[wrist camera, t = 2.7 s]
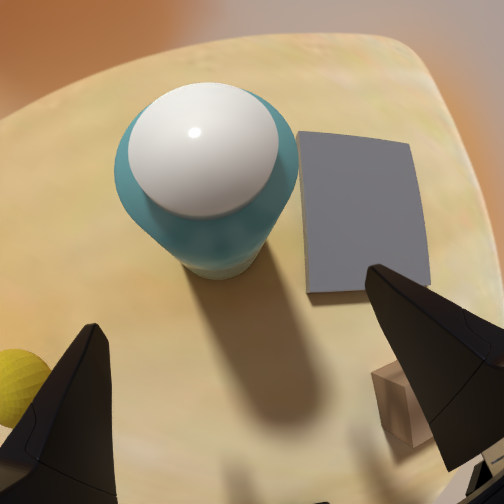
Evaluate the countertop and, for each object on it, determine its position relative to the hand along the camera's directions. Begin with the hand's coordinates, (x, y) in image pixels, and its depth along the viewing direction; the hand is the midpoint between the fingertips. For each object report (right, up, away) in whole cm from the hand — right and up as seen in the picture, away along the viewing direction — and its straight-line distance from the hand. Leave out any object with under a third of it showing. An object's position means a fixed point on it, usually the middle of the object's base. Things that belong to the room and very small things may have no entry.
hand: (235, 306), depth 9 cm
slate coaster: (+9, +5, +13) cm, 16 cm away
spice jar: (-2, +3, +12) cm, 12 cm away
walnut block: (+12, -9, +11) cm, 19 cm away
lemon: (-16, -8, +9) cm, 20 cm away
